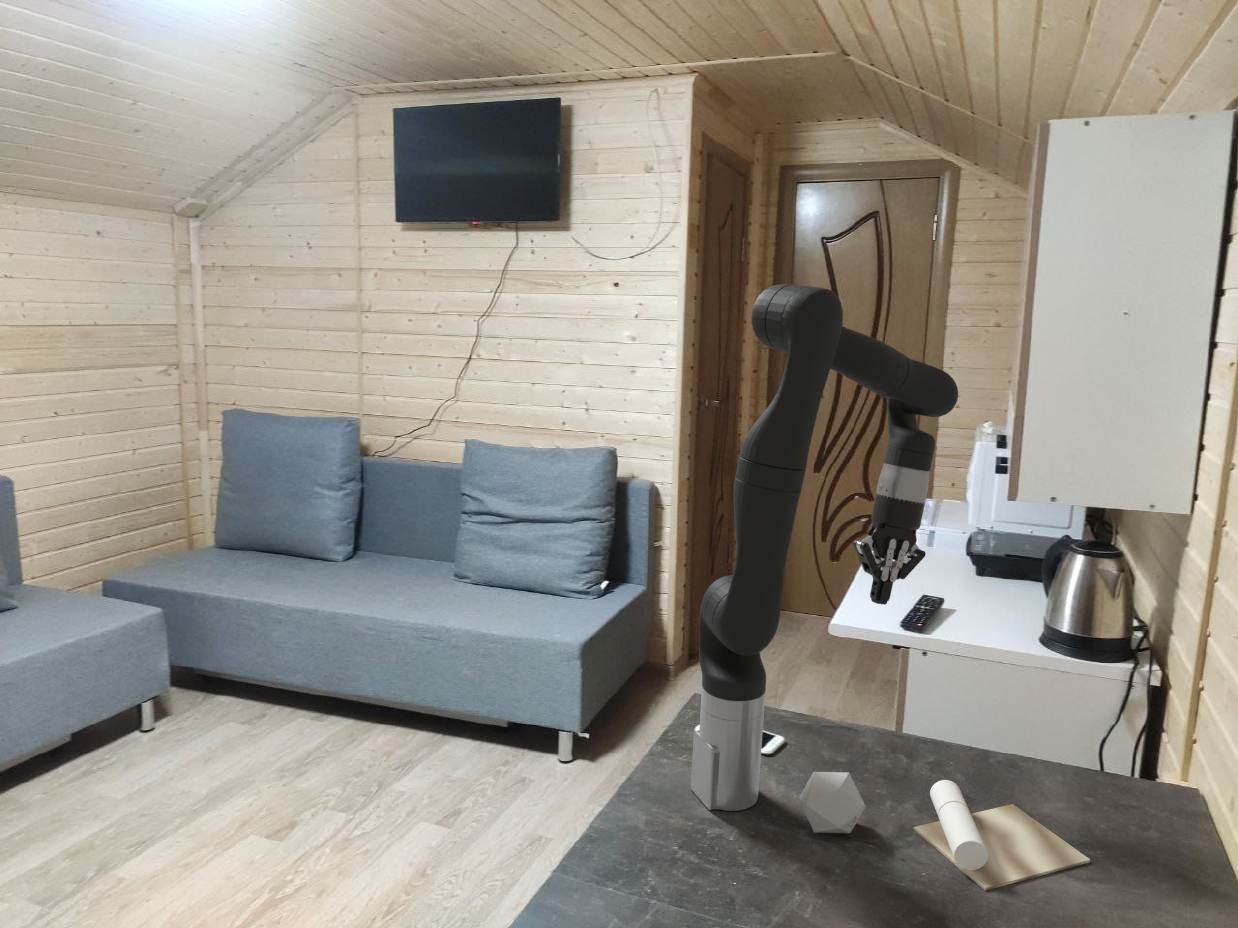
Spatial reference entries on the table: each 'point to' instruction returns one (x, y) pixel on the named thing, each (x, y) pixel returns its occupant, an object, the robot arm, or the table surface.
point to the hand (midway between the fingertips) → (878, 602)
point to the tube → (958, 825)
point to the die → (832, 802)
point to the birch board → (1009, 847)
